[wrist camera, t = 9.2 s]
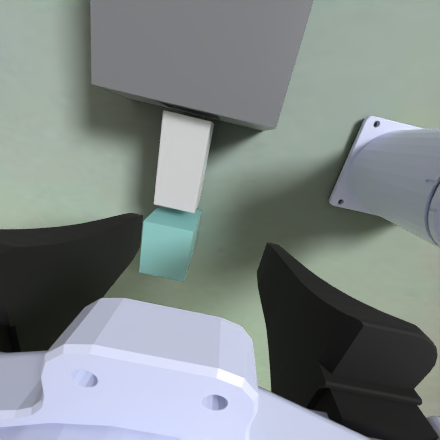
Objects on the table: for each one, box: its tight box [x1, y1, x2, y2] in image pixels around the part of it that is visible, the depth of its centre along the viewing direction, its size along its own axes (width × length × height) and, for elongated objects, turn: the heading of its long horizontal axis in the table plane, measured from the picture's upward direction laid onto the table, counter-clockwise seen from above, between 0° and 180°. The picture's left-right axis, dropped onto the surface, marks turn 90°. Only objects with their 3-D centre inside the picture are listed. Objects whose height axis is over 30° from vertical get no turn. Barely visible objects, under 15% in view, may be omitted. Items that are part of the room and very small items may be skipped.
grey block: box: [90, 0, 313, 131], centre depth 14 cm, size 12×10×5 cm
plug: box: [139, 110, 214, 282], centre depth 18 cm, size 4×13×5 cm, turn 167°
